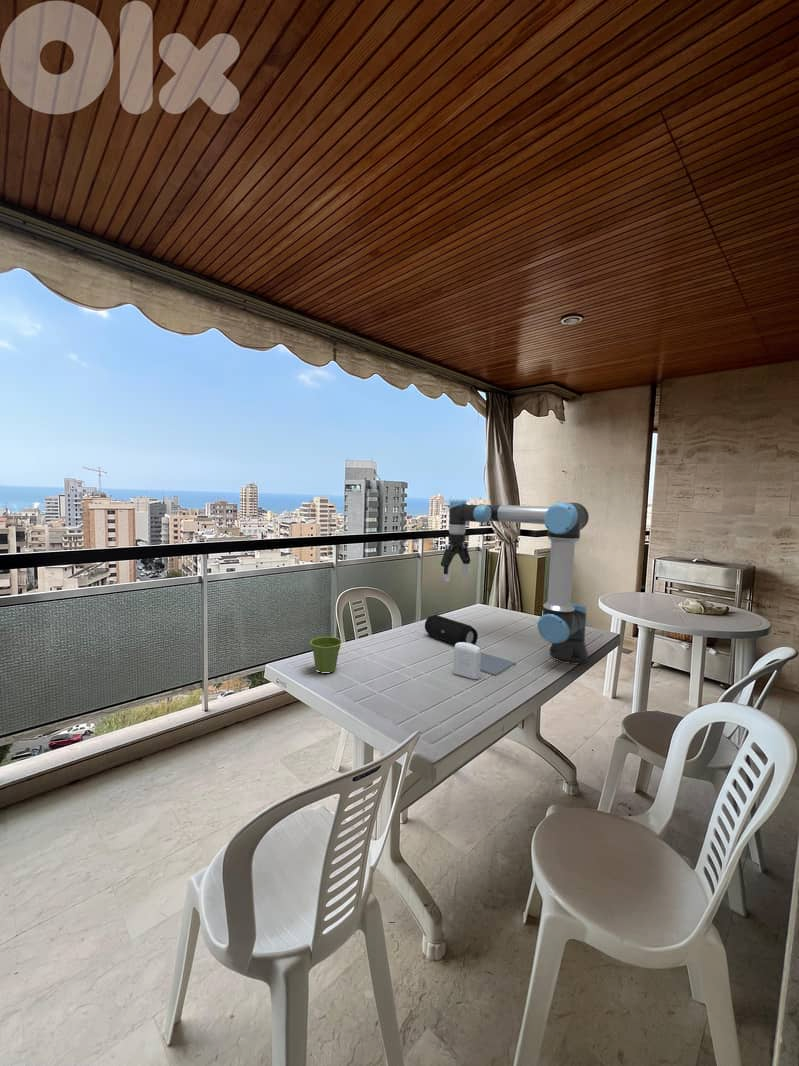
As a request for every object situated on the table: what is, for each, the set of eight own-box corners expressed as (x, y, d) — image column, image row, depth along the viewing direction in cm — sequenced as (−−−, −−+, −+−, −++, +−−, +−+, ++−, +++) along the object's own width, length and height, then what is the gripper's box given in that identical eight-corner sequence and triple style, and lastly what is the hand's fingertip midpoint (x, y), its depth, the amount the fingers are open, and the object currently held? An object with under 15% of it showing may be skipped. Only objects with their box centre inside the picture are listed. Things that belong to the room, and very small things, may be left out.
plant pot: (325, 680, 155) (325, 649, 154) (303, 671, 162) (303, 642, 161) (348, 670, 165) (348, 640, 164) (326, 662, 172) (326, 634, 171)
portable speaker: (423, 636, 206) (423, 615, 206) (437, 632, 213) (438, 612, 212) (463, 651, 187) (464, 629, 186) (478, 647, 193) (479, 625, 192)
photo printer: (481, 677, 161) (483, 644, 160) (477, 681, 157) (478, 647, 156) (456, 670, 166) (457, 638, 165) (451, 674, 163) (452, 641, 162)
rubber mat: (515, 664, 173) (515, 662, 173) (495, 676, 162) (495, 674, 162) (481, 654, 184) (481, 652, 184) (459, 664, 172) (459, 662, 172)
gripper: (465, 531, 212) (464, 574, 214) (433, 534, 194) (432, 581, 195) (478, 532, 207) (477, 577, 209) (447, 535, 189) (445, 584, 190)
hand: (455, 579), depth 202 cm, fingers open, 13 cm apart
